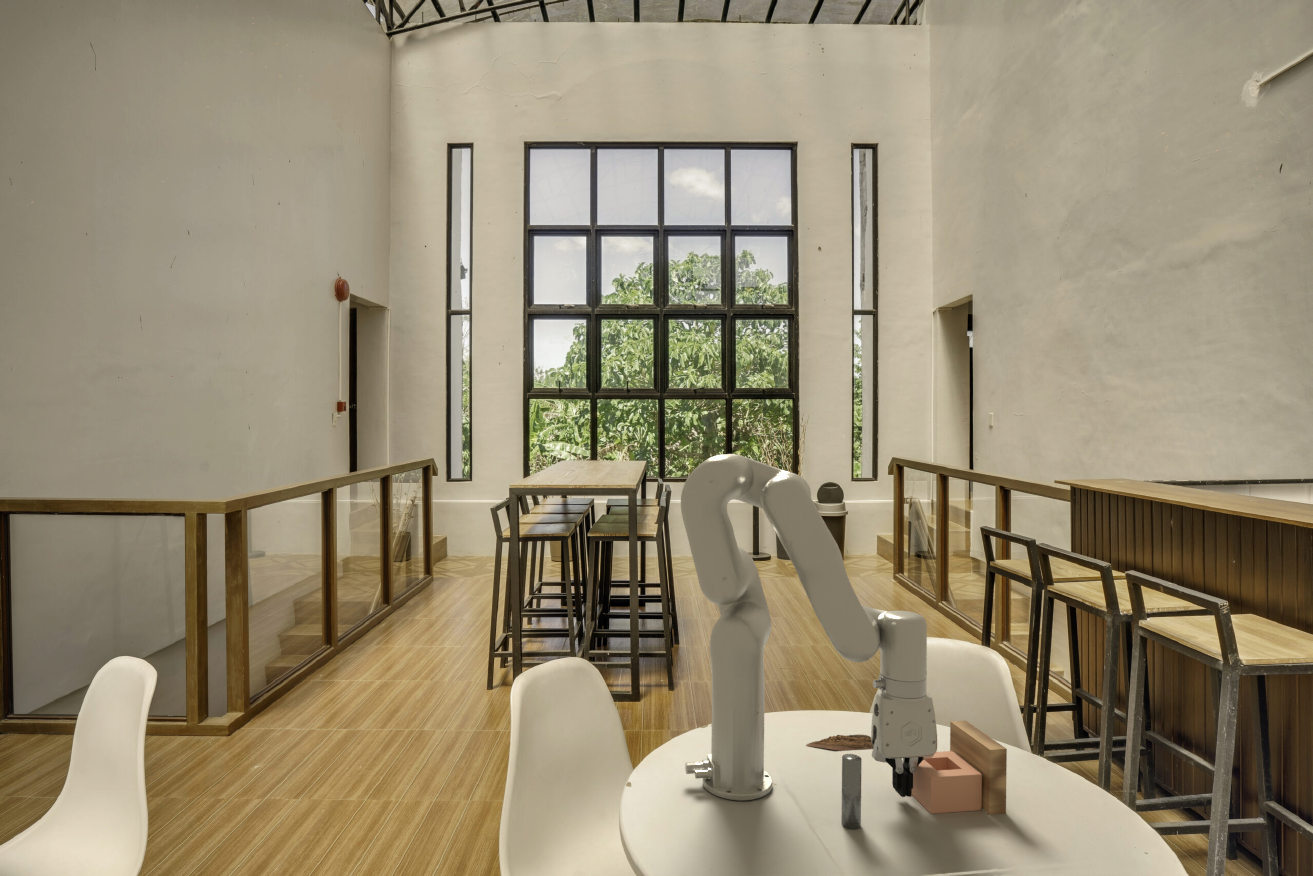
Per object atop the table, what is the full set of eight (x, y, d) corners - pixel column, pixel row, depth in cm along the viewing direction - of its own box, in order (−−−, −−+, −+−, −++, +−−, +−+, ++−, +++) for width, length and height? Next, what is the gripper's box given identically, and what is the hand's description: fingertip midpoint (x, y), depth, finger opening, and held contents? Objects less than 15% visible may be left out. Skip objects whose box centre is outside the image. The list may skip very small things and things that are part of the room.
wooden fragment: (930, 742, 152) (930, 737, 152) (942, 766, 142) (942, 761, 142) (805, 733, 156) (805, 729, 156) (807, 756, 146) (807, 751, 146)
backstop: (989, 816, 120) (990, 749, 120) (949, 782, 132) (950, 721, 132) (1005, 815, 121) (1006, 748, 121) (965, 781, 133) (965, 720, 133)
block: (931, 813, 120) (931, 777, 120) (904, 787, 129) (905, 753, 129) (981, 810, 122) (981, 774, 122) (951, 784, 131) (952, 751, 131)
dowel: (845, 838, 115) (846, 762, 115) (838, 828, 118) (839, 754, 118) (863, 837, 116) (864, 761, 116) (856, 827, 119) (856, 753, 119)
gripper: (871, 695, 120) (870, 807, 120) (956, 691, 122) (955, 801, 122) (852, 680, 127) (852, 785, 127) (932, 676, 129) (932, 780, 129)
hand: (902, 793), depth 124 cm, fingers closed
